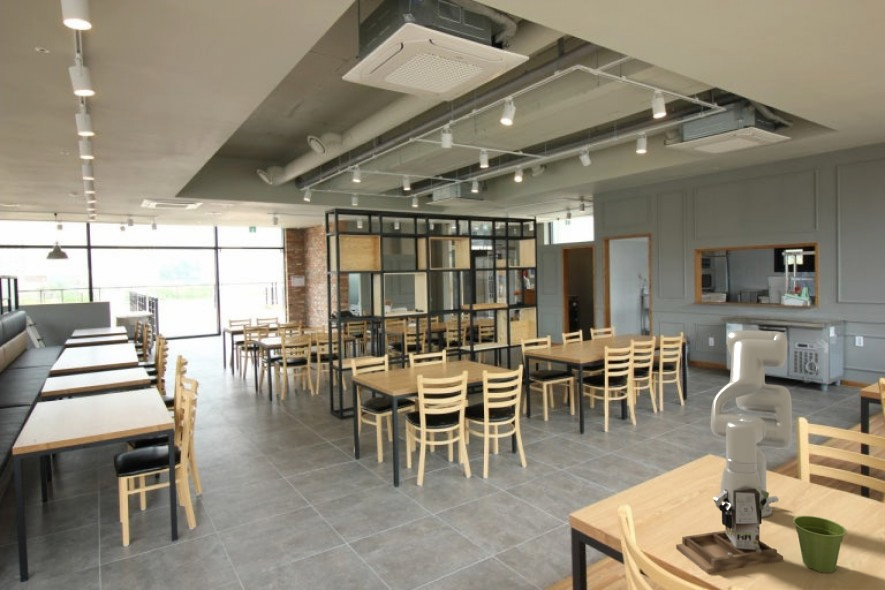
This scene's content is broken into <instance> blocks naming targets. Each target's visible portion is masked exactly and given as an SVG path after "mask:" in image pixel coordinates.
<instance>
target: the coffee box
mask: <svg viewBox="0 0 885 590" xmlns="http://www.w3.org/2000/svg"><path fill="white" fill-rule="evenodd" d="M734 493H735V496H734V498H735V500H734V507H733V510H732V511H731V513H730V514H731V515H732V528H731V529H729V528H728V527H726V526H725V525H724V526H725V530H726V535H727V536H728V537H729V539H730V540H731V542H732V543H733V545H734V546H735V547H736V548H739V549H752V550H756V548H760V547H759V545H760V541H761V540H760V539H761V538H760V529H761V528H760V526H761V524H760V493H759V492H758V491H757V490H756V489H747V490H741V491H734ZM729 503H730V502H729ZM728 506H729V505H727V507H726V509H727V508H728Z"/></svg>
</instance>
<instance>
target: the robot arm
mask: <svg viewBox="0 0 885 590" xmlns="http://www.w3.org/2000/svg"><path fill="white" fill-rule="evenodd" d="M726 346H727V350H728V353H729V354H730V357H731V360H730V362H731V363H730V377H729V379H730V380H729V382H728V383H726V385H724V386H723V387H722V388H721V389H719V391H718V393H716V395H715V396H714V398H713V401H712V406H711V412H710V413H711V415H710V429H711V432H712V433H713V434H714V436H716V437H719V438H722V439H725V450H726V452H725V453H726V454H725V457H726V458H725V459H726V460H725V463H726V466H725V467H724V468H723V471H722V475H721V481H720V493H719V494H717V495H716V496H714V497H713V502H714V503H715V506H716V508H717V509H718V510H719V511H720V512H721V524H722V525H723V526H726V527H728V528H729V529H731V528H732V515H731V514H730V513H731V511H732V510H733V507H734V500H735V498H734V496H735V493H734V491H741V490H747V489H756V490H757V491H758V492H759V493H760V525H761V524H762V521H763V520H762V519H763V518H765V517H769V516H771V515H772V514H773V509H772V507H771V506H770V505H771V504H772V503H778V502H779V498H778V496H777V495H772V496H770V492H768V491H767V460H766V457H765V455H764V453H763V452H762V450H761V449H760V447H763V448H771V449H778V450H779V449H780V450H786V449H789V448H790V447H791V446H792V441H793V416H792V415H793V404H792V396H791V393H790V390H789V389H788V388H787V387H785V386H783V385H779V384H767V383H766V381H765V379H766V378H765V377H766V376H765V374H766V371H765V368H764V367H771V368H782V367H783V366H784V365H785V363H786V360H787V355H788V339H787V335H785V333H784V332H781V331H777V330H776V331H775V330H774V331H771V330H770V331H769V330H752V329H751V330H748V329H747V330H746V329H745V330H739V329H738V330H733V331H730V332H729V333H728V334H727V336H726ZM734 399H735V404H736V407H737V408H738V409H740V410H741V411H745V412H753V413H761V414H770V415H773V416H775V418H774V417H764V416H758V415H749V414H741V413H732V412H723V408H724V406H725V404H727V403H728V402H730V401H731V400H734ZM729 502H730V503H729ZM727 505H729V506H728V508H727V509H726V507H727ZM726 527H725V528H726Z"/></svg>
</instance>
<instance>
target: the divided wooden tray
mask: <svg viewBox="0 0 885 590" xmlns="http://www.w3.org/2000/svg"><path fill="white" fill-rule="evenodd" d="M681 542H682V543H678V544H677V543H676V544H675V545H676V546H675V548H676V550H677V551H679V553H681V554H683V556H685V557H686V558H687V559H689V560H690V561H691V562H692V563H694V564H695V565H696V566H697V567H698V568H700V569H701V570H703V572H705V573H706V574H712V573H716V572H722V571H729V570H734V569H735V570H736V569H740V568H741V569H742V568H746V567H753V566H759V565H764V564H769V563H777V562H782V561H784V556H783V555H782V554H781V553H779V552H778V549H776V548H772V547H771V546H769V545H767V544H766V543H764V542H762V540H760V545H759V547H760V548H756V550H752V549H739V548H736V547H735V546H734V545H733V543H732V542H731V540H730V539H729V537H728V536H727V535H726V529H724V530H720V531H712V532H707V533H700V534H693V535H688V536H682V539H681Z"/></svg>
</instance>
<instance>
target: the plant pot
mask: <svg viewBox="0 0 885 590" xmlns="http://www.w3.org/2000/svg"><path fill="white" fill-rule="evenodd" d="M792 523H793V524H794V525H795V531H796V534H797V537H798V542H799V548H800V553H801V558H802V563H803V565H804V566H806V567H808V568H809V569H813V570H815V571H816V570H817V572H819V571H821V572H820V573H827V572H829V573H832V572H833V573H834V572H835V570H836V569H837V564H838V559H839V554H840V548H841V544H842V542H843V539H844V536H845V535H846V534H847V529H846V528H845V527H844V526H843V525H841V524H840V523H838V522H835V521H833V520H831V519H827V518H824V517H820V516H814V515H798V516H795V517H793V518H792Z"/></svg>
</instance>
